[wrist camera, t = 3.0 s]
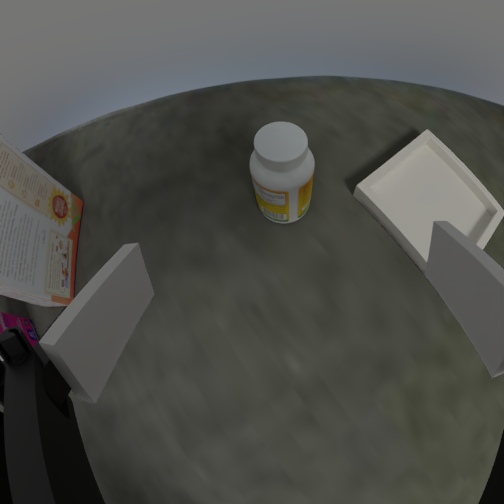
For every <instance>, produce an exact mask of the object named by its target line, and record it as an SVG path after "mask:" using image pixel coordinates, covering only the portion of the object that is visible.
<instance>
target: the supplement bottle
mask: <svg viewBox="0 0 504 504" xmlns="http://www.w3.org/2000/svg"><path fill="white" fill-rule="evenodd" d="M249 166H250V172H251V177H252V181H253V185H254V190H255V194H256V198H257V203H258V206H259V209H260V211H261V212H262V214H263V215H264V216H265V217H266V218H268V219H269V220H271V221H273V222H276V223H282V224H284V223H291V222H294V221H297V220H298V219H300V218H301V217H303V215H304V214H305V213H306V211H307V210H308V208H309V205H310V200H311V192H312V183H313V175H314V166H315V163H314V157H313V154H312V152H311V151H310V149H309V148H308V140H307V136H306V134H305V132H304V131H303V130H302V129H301V128H300V127H298V126H297V125H295V124H292V123H289V122H273V123H270V124H267V125H265V126H264V127H262V128H261V129H260V130H259V131H258V132H257V133H256V135H255V138H254V151H253V153H252V155H251V157H250V164H249Z"/></svg>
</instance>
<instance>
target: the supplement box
mask: <svg viewBox="0 0 504 504" xmlns="http://www.w3.org/2000/svg"><path fill="white" fill-rule="evenodd" d="M13 326H19V327H20V328H21V329H22V330H23V332H24V334H25V335H26V337H27V339H28V340H29V342H30V343H31V345H32V347H34V346H35V344H36V343H37V342H38V340H39V339H38V337H37V334H36V332H35V329H34V327H33V324H32V321H31V320H30V319H26V318H22V317H18V316H14V315H10V314H6V313H3V312H0V334H1V333H2V332H3V331H5V330H6V329H8V328H10V327H13ZM0 360H1V361H4V360H3V359H2V357H1V356H0Z"/></svg>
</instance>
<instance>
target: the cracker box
mask: <svg viewBox="0 0 504 504" xmlns="http://www.w3.org/2000/svg"><path fill="white" fill-rule="evenodd" d="M82 208H83V201H82V200H81V199H79V198H78V197H77V196H75V195H74V194H73V193H72V192H70V191H69V190H68V189H66V188H65V187H64V186H63V185H61V184H60V183H59V182H57V181H56V180H55V179H54V178H52V177H51V176H50V175H49V174H48V173H46V172H45V171H44V170H43V169H41V168H40V167H39V166H38V165H36V164H35V163H34V162H33V161H32V160H30V159H29V158H28V157H27V156H26V155H24V154H23V153H22V152H21V151H20V150H19V149H17V148H16V147H15V146H14V145H13V144H12V143H10V142H9V141H8V140H7V139H6V138H5V137H4V136H2V135H1V134H0V295H4V296H7V297H11V298H14V299H18V300H21V301H25V302H28V303H32V304H37V305H41V306H45V307H55V306H68V305H69V304H70V303H71V302H72V300H73V299H74V281H75V266H76V254H77V244H78V236H79V227H80V221H81V214H82Z"/></svg>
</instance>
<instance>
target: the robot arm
mask: <svg viewBox="0 0 504 504" xmlns="http://www.w3.org/2000/svg"><path fill="white" fill-rule="evenodd" d="M425 276H426V277H427V279H428V280H429V281H430V283H431V284H432V285H433V287H434V288H435V289H436V291H437V292H438V293H439V295H440V296H441V298H442V299H443V300H444V302H445V303H446V305H447V306H448V307H449V309H450V310H451V312H452V313H453V315H454V316H455V318H456V319H457V321H458V322H459V324H460V325H461V327H462V328H463V330H464V331H465V333H466V334H467V336H468V338H469V339H470V341H471V342H472V344H473V346H474V347H475V349H476V351H477V352H478V354H479V356H480V357H481V359H482V361H483V363H484V364H485V366H486V368H487V370H488V371H489V373H490V375H491V377H492V378H494V377H496V376H498V375H501V374H503V373H504V269H503V268H502V267H501V266H500V265H498V264H497V263H496V262H495V261H494V260H493V259H492V258H491V257H490V256H489V255H488V254H486V253H485V252H484V251H483V250H482V249H481V248H480V247H478V246H477V245H476V244H475V243H474V242H473V241H471V240H470V239H469V238H468V237H467V236H465V235H464V234H463V233H462V232H460V231H459V230H458V229H457V228H455V227H454V226H453V225H452V224H450V223H449V222H448V221H433V229H432V236H431V243H430V249H429V255H428V260H427V266H426V271H425ZM153 296H154V291H153V288H152V285H151V282H150V279H149V276H148V273H147V270H146V267H145V263H144V260H143V257H142V254H141V250H140V247H139V243H133V244H124V245H123V246H122V247H121V248H120V249H119V250H118V251H117V252H116V253H115V254H114V256H113V257H112V258H111V259H110V260H109V261H108V262H107V263H106V264H105V265H104V266H103V267H102V268H101V269H100V270H99V271H98V272H97V274H96V275H95V276H94V277H93V278H92V279H91V280H90V281H89V282H88V283H87V285H86V286H85V287H84V288H83V289H82V290H81V291H80V292H79V294H78V295H77V296H76V297H75V298H74V299H73V300H72V302H71V303H70V304H69V305H68V306H66V307H65V308H64V309H63V311H62V312H61V313H60V314H59V315H58V318H56V319H55V320H54V322H53V324H51V325H50V326H49V328H48V329H47V330H46V331H45V333H44V334H43V335H42V337H41V338H40V339H39V340H38V342H37V343H36V344H35V346H34V347H32V345H31V343H30V342H29V340H28V339H27V337H26V335H25V334H24V332H23V330H22V329H21V328H20V327H19V326H13V327H10V328H8V329H6V330H5V331H3V332H2V333H1V334H0V356H1V357H2V359H3V360H4V361H1V360H0V404H1V405H2V406H3V407H4V412H3V413H2V412H0V504H105V502H104V500H103V498H102V495H101V493H100V491H99V488H98V486H97V483H96V480H95V478H94V475H93V472H92V470H91V467H90V464H89V461H88V458H87V455H86V452H85V449H84V445H83V442H82V439H81V435H80V431H79V428H78V424H77V420H76V416H75V412H74V407H73V403H72V401H71V398H70V397H69V396H68V394H69V392H70V390H71V389H72V391H73V392H74V393H75V394H76V396H77V397H78V398H79V399H80V400H83V401H87V402H91V403H95V404H96V402H97V400H98V398H99V396H100V394H101V392H102V390H103V388H104V386H105V384H106V382H107V380H108V378H109V376H110V374H111V372H112V370H113V368H114V366H115V364H116V362H117V361H118V359H119V357H120V355H121V353H122V351H123V349H124V347H125V346H126V344H127V342H128V340H129V338H130V336H131V335H132V333H133V331H134V329H135V327H136V325H137V324H138V322H139V320H140V318H141V317H142V315H143V313H144V311H145V310H146V308H147V306H148V304H149V303H150V301H151V299H152V297H153ZM479 504H504V430H503V434H502V438H501V442H500V446H499V449H498V452H497V456H496V459H495V462H494V465H493V468H492V471H491V474H490V477H489V479H488V482H487V484H486V487H485V490H484V492H483V494H482V497H481V499H480V501H479Z"/></svg>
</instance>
